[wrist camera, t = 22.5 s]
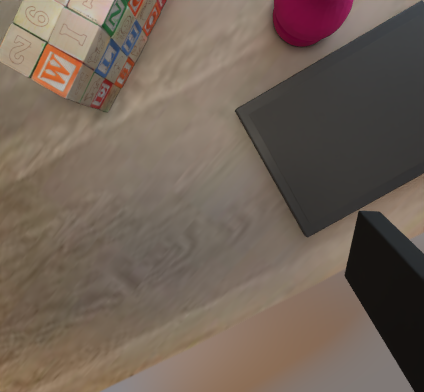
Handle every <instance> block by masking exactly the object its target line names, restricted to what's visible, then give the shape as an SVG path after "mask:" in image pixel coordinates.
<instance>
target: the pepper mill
mask: <svg viewBox="0 0 424 392" xmlns="http://www.w3.org/2000/svg"><path fill="white" fill-rule="evenodd" d="M352 4H353V0H274V10H273V23H274V26H275V29H276V31H277V33H278V34H279V36H280V37H281V38H282V39H283V40H284V41H286V42H287V43H289V44H291V45H294V46H300V47H304V46H309V45H312V44H315V43H316V42H318V41H319V40H321V39H323V38H325V37H327V36H329V35H331V34H332V33H334V32H335V31H336V30H337V29H338V28H339V27H340V26H341V25H342V24H343V22H344V21H345V19H346V18H347V16H348V14H349V12H350V10H351V8H352Z"/></svg>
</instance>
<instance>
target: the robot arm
mask: <svg viewBox="0 0 424 392" xmlns="http://www.w3.org/2000/svg"><path fill="white" fill-rule="evenodd" d="M345 277H346V279H347V281H348V282H349V284H350V286H351V287H352V289H353V291H354V292H355V294H356V296H357V297H358V299H359V301H360V302H361V304H362V306H363V307H364V309H365V311H366V312H367V314H368V315H369V317H370V319H371V320H372V322H373V324H374V325H375V327H376V329H377V330H378V332H379V334H380V335H381V337H382V339H383V340H384V342H385V343H386V345H387V347H388V349H389V350H390V352H391V354H392V355H393V357H394V358H395V360H396V362H397V363H398V365H399V367H400V368H401V370H402V372H403V373H404V375H405V377H406V378H407V380H408V381H409V383H410V385H411V387H412V388H413V390H414V392H424V254H423V253H422V252H421V251H420V250H419V249H418V248H417V247H416V246H415V245H414V244H413V243H412V242H411V241H410V240H409V239H408V238H407V237H406V236H405V235H404V234H403V233H401V232H400V231H399V230H398V229H397V228H396V227H395V226H394V225H393V224H392V223H391V222H390V221H389V220H388V219H387V218H386V217H385V216H384V215H383V214H382V213H380V212H375V211H359V212H358V217H357V221H356V226H355V230H354V235H353V239H352V244H351V248H350V253H349V258H348V262H347V267H346V272H345Z"/></svg>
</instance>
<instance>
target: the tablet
mask: <svg viewBox="0 0 424 392" xmlns="http://www.w3.org/2000/svg"><path fill="white" fill-rule="evenodd" d="M235 112H236V114H237V115H238V117H239V119H240V121H241V123H242V124H243V126H244V128H245V130H246V131H247V133H248V135H249V137H250V139H251V140H252V142H253V144H254V146H255V148H256V149H257V151H258V153H259V155H260V156H261V158H262V160H263V162H264V164H265V165H266V167H267V169H268V171H269V173H270V174H271V176H272V178H273V180H274V182H275V183H276V185H277V187H278V189H279V190H280V192H281V194H282V196H283V198H284V199H285V201H286V203H287V205H288V207H289V208H290V210H291V212H292V214H293V215H294V217H295V219H296V221H297V223H298V224H299V226H300V228H301V230H302V232H303V233H304V235H305V236H306V237H309V236H311V235H313V234H315V233H317V232H318V231H320V230H322V229H324V228H326V227H328V226H329V225H331V224H333V223H335V222H337V221H338V220H340V219H342V218H344V217H346V216H347V215H349V214H351V213H353V212H355V211H356V210H358V209H360V208H362V207H364V206H365V205H367V204H369V203H371V202H373V201H375V200H376V199H378V198H380V197H382V196H384V195H385V194H387V193H389V192H391V191H393V190H394V189H396V188H398V187H400V186H402V185H403V184H405V183H407V182H409V181H411V180H412V179H414V178H416V177H418V176H420V175H422V174H423V173H424V2H423V0H421V1H420V2H418V3H416V4H415V5H413V6H411V7H410V8H408V9H406V10H404V11H403V12H401V13H399V14H398V15H396V16H394V17H392V18H391V19H389V20H387V21H386V22H384V23H382V24H381V25H379V26H377V27H375V28H374V29H372V30H370V31H369V32H367V33H365V34H363V35H362V36H360V37H358V38H357V39H355V40H353V41H352V42H350V43H348V44H346V45H345V46H343V47H341V48H340V49H338V50H336V51H334V52H333V53H331V54H329V55H328V56H326V57H324V58H322V59H321V60H319V61H317V62H316V63H314V64H312V65H311V66H309V67H307V68H305V69H304V70H302V71H300V72H299V73H297V74H295V75H293V76H292V77H290V78H288V79H287V80H285V81H283V82H282V83H280V84H278V85H276V86H275V87H273V88H271V89H270V90H268V91H266V92H264V93H263V94H261V95H259V96H258V97H256V98H254V99H253V100H251V101H249V102H247V103H246V104H244V105H242V106H241V107H239V108H237V109H236V110H235Z"/></svg>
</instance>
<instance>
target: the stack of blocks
mask: <svg viewBox="0 0 424 392" xmlns="http://www.w3.org/2000/svg"><path fill="white" fill-rule="evenodd" d="M165 2H166V0H23V1H22V3H21V5H20V7H19V9H18V12H17V14H16V16H15V18H14V21H13V24H11V25H10V27H9V29H8V31H7V33H6V35H5V37H4V39H3V41H2V43H1V45H0V62H2V63H4V64H5V65H7V66H9V67H11V68H12V69H14V70H16V71H17V72H19V73H21V74H23V75H24V76H26V77H28V78H31V79H32V80H34V81H35V82H37V83H39V84H40V85H42V86H44V87H46V88H47V89H49V90H51V91H53V92H54V93H56V94H58V95H60V96H62V97H64V98H66V99H69V100H72V101H75V102H77V103H79V104H82V105H85V106H88V107H92V108H96V109H99V110H102V111H104V112H108V111H109V110H110V108H111V106H112V104H113V102H114V100H115V98H116V96H117V95H118V93H119V91H120V89H121V88H122V87H123V85H124V83H125V81H126V79H127V77H128V76H129V74H130V72H131V70H132V68H133V66H134V64H135V62H136V60H137V59H138V57H139V55H140V53H141V51H142V49H143V47H144V45H145V44H146V42H147V40H148V35H149V34H150V32H151V30H152V28H153V26H154V24H155V22H156V20H157V18H158V17H159V15H160V12H161V10H162V8H163V6H164V4H165Z"/></svg>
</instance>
